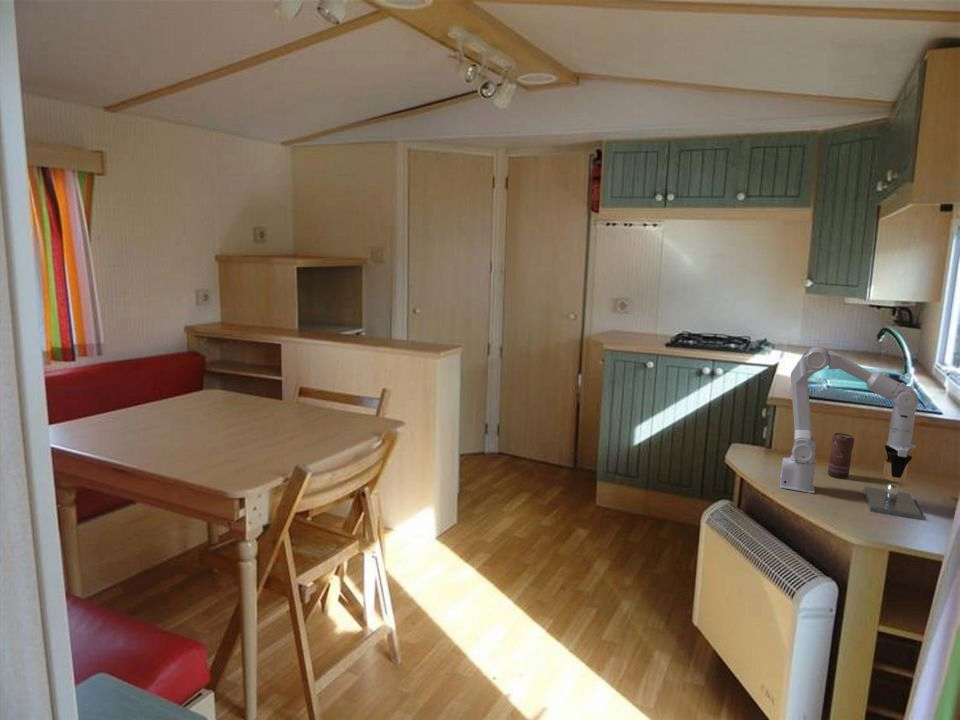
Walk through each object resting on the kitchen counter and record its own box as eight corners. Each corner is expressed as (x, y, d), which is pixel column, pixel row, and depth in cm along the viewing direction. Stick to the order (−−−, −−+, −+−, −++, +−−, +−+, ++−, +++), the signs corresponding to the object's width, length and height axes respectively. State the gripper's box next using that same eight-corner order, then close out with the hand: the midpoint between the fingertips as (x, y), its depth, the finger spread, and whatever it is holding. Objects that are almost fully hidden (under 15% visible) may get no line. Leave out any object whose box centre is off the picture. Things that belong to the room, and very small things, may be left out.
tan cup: (884, 479, 188) (886, 463, 187) (881, 474, 193) (884, 457, 192) (906, 483, 186) (909, 466, 185) (903, 477, 191) (905, 460, 190)
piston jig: (870, 511, 185) (873, 491, 184) (863, 491, 201) (865, 472, 200) (920, 519, 180) (923, 499, 179) (908, 498, 196) (911, 479, 195)
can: (849, 480, 210) (854, 439, 208) (827, 476, 213) (832, 435, 211) (849, 475, 215) (855, 434, 213) (827, 471, 218) (833, 431, 216)
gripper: (922, 437, 179) (915, 484, 181) (913, 425, 192) (906, 469, 194) (892, 433, 181) (885, 479, 184) (885, 421, 194) (879, 465, 197)
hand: (894, 473), depth 189 cm, fingers closed on tan cup, 5 cm apart
